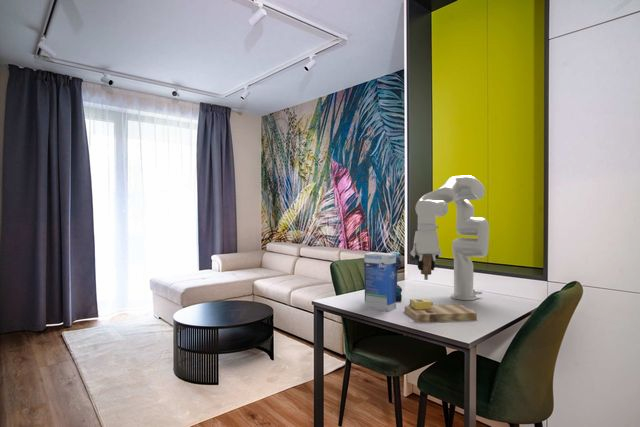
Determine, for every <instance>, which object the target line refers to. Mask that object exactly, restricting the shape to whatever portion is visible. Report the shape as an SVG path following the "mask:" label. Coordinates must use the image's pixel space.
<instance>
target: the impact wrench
mask: <svg viewBox="0 0 640 427" xmlns="http://www.w3.org/2000/svg"><path fill="white" fill-rule="evenodd" d="M388 253H390V254H396V303H397V302H402V299H403V298H402V297H403V296H402V292H403V289H402V287H401V285H399V284H398V271H399V269H400V267H401V265H402V261H403V257H402V254H401V253H400V252H398V251H397V250H391V251H388Z"/></svg>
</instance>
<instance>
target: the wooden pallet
mask: <svg viewBox="0 0 640 427" xmlns="http://www.w3.org/2000/svg"><path fill="white" fill-rule="evenodd" d="M404 313H406V314H407V315H408V316H409V317H411V318H412V319H413V320H414V321H415V323H429V322H430V323H436V322H437V323H438V322H462V321H477V318H478V317H477V315H478V314H477V313H478V312H475V311H473V310H472V309H470V308H467V307H465V306H464V305H461V304H433V305H431V309H415V308H413V307H412V306H411V305H404Z"/></svg>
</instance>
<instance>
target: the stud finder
mask: <svg viewBox="0 0 640 427" xmlns="http://www.w3.org/2000/svg"><path fill="white" fill-rule="evenodd" d="M411 299H412V300H411V305H410V306H412V307H413V308H415V309H431V302H432V301H431V300H429V299H427V298H414V299H413V298H411Z"/></svg>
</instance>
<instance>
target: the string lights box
mask: <svg viewBox="0 0 640 427" xmlns="http://www.w3.org/2000/svg"><path fill="white" fill-rule="evenodd" d="M363 255H364V256H363V258H364V264H363V265H364V269H363V270H364V309H367V310H368V309H370V310H375V311H380V312H392V311H394V310H396V309H397V302H396V254H390V253H389V252H388V253H387V252H386V253H385V252H372V251H370V252H366V253H364V254H363Z"/></svg>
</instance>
